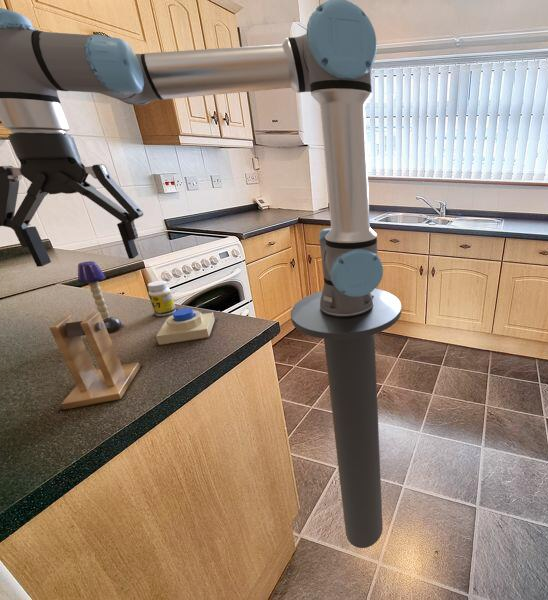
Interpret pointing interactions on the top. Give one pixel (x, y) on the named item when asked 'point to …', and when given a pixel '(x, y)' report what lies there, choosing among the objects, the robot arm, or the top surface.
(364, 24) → the robot arm
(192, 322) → the button box
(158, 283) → the supplement bottle
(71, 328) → the switch lever
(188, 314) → the switch button
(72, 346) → the lever bracket
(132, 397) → the top surface
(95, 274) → the toy lamp
